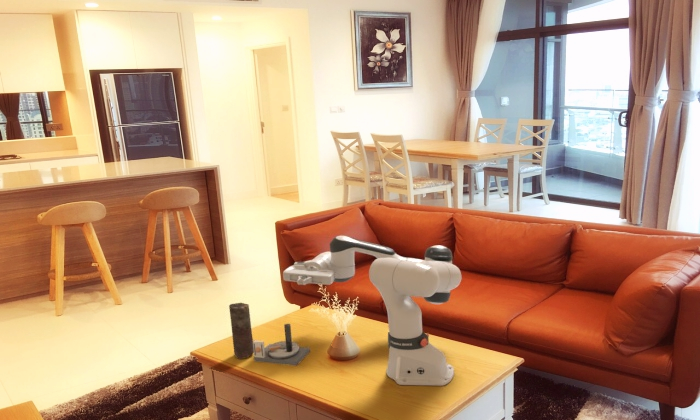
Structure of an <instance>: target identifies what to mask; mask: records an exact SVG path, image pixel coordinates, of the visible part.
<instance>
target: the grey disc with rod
mask: <svg viewBox="0 0 700 420" xmlns="http://www.w3.org/2000/svg"><path fill="white" fill-rule="evenodd" d="M291 328H292V325H291V323H284V335H285V336H284V337H285V339H284V341H282V340H281V341H278V342H274V343H272V344H271V343H270V344H271V345H270V346H269V347H268V348H267V353H268V356H269V357H270V358H272V359H288V358H291V357H294V356H296V355H297V354H298V353H299V347H300V346H299V344H298V343H297V342H295V341H292V340H293V339H292V329H291Z"/></svg>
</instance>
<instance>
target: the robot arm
mask: <svg viewBox="0 0 700 420" xmlns="http://www.w3.org/2000/svg"><path fill="white" fill-rule="evenodd" d="M355 252H357V253H361V254H367V255H370V256H373V257H375V258H376V259H374V261H372V262H371V265H370V267H369V270H368V276H369V280H370V282H371V284H372V285H373V286H374V287H375V288H376V290H377V291H378V293H380V296H381V298H382V299H383V302H384V305H385V307H386V311H387V312H386V313H387V320H388V321H387V322H388V332H387V344H388V349H389V353H388V362H387V365H386V366H387V367H386V375H387V377H389V378H390V379H391V380H394V381H395V383H396V384H398V385H399V386H439V387H441V386H445V385H448V384H449V383H450V382H451V381H452V380H453V377H454V375H455V369H454V367H453V365H451V363H450V364H449V363H447V357H446V356H445V353H444V352H443V351H441V349H439V348H437V347H436V346H434V345H433V344H432V343H431V342H429V340H430V339H429V336H430V333H429V332H427V333H426V332H424V331H423V318H422V317H423V316H422V315H423V314H422V310H421V307H420V306H419V305H418V304H417V303H416V302H415V301H414V300H413V298H412V297H414V298H423V299H424V301H425V302H428V303H430V304H432V305H442V304H446V303H448V302H449V300H450V298H451V291H452V290H454V289H456V288H457V287H458V286H459V285H460V284H461V281H462V272H461V270H460V268H459V267H458V266H457V265H455V264H453V257H454V256H453V253H452V250H451V249H450V248H448V247H447V246H445V245H439V244H438V245H433V246H429V247H428V248H426V249H425V252H424V259H420V258H414V257H405V256H401V255H399V254H397V252H395V250H394V249H393V248H390V247H388V246H385V245H383V244H382V245H381V244H377V243H374V242H373V243H372V242H368V241H366V240H365V241H364V240H361V239H356V238H354V237H351V236H347V235H336V236H334V238H332V240H331V241H330V243H329V251H324V252H320V254H318V255H317V256H315V257H314V258H313V259H310V260H306V261H305V260H304V261H295V262H294V263H293V265H290V266H288V267H287V268H286V269H285V270H283V272H282V277H283V278H282V279H283V281H285V282H294V283H297V285H301V286H306V285H308V284H316V285H326V286H329V285H332V284H333V282H335V283H344V282H345V283H346V282H349V281H350V280H351V279H352V278H354V276H355V274H356V266H355V265H356V264H355Z"/></svg>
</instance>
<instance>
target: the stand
mask: <svg viewBox="0 0 700 420" xmlns="http://www.w3.org/2000/svg"><path fill="white" fill-rule="evenodd" d="M270 345H271V343H268V344H267V346H265V341H264V340H253V348H254V353H253V361H254V362H259V363H266V364H267V363H268V364H277V365H286V366H288V365H289V366H296V367H297V366H298V365H299V364H300V363H301V362H302V360H304V358H306V357H307V356H308V354H309V353H311V348H310V347H305V346H299V353H298V354H297V355H296V356H294V357H291V358H288V359H272V358H270V357H269V356H268V353H267V348H268V347H269V346H270Z"/></svg>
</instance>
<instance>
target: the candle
mask: <svg viewBox="0 0 700 420" xmlns="http://www.w3.org/2000/svg"><path fill="white" fill-rule="evenodd" d="M228 308H229V316H230V317H229V318H230V326H231V333H232V334H231V336H232V344H233V353H234V356H235V358H237V359H238V360H239V359H240V360H243V359H247V358H248V357H250V356H252V355H254V348H253V341H254V340H253V339H254V337H253V331H252V324H251V323H252V321H251V314H250V313H251V311H250V305H249V304H247V303H244V302H236V303H231V304H229V305H228Z"/></svg>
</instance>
